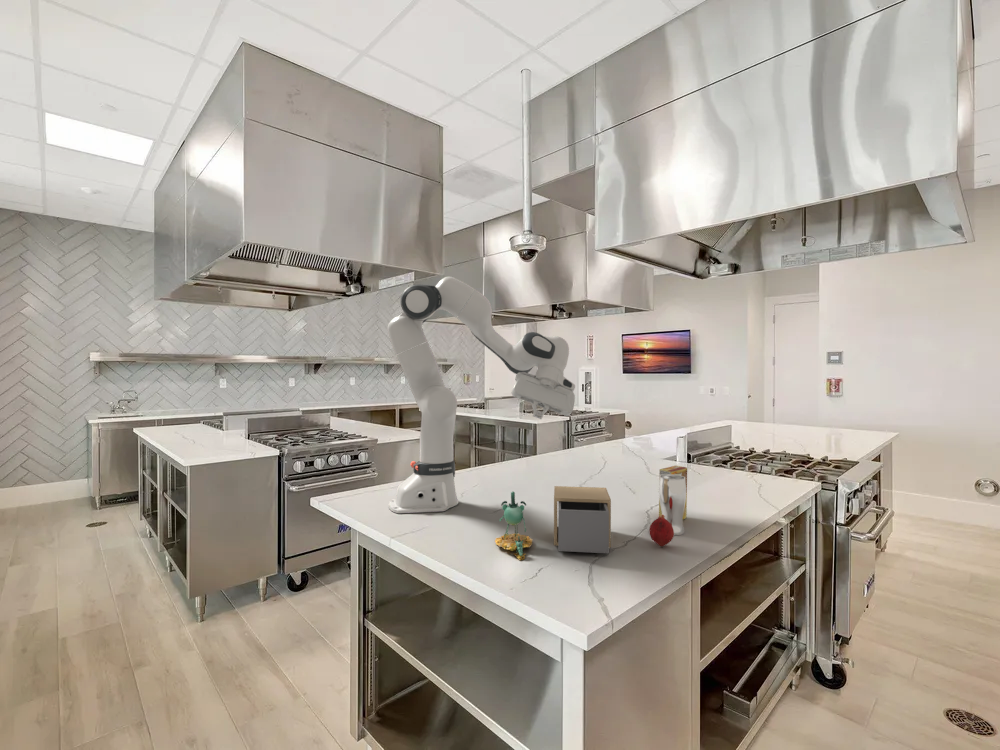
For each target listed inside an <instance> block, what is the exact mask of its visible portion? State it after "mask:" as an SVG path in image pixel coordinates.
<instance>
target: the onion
mask: <svg viewBox="0 0 1000 750" xmlns="http://www.w3.org/2000/svg"><path fill="white" fill-rule="evenodd" d="M664 517H665V516H664V515H663V514H661V515H660V516H659V515H658V517H657V518H656V519H654V520H653V521H652V522H651V524H650V525H649V531H648V532H649V537H650V539H651V540H652V541H653V542H654V543H655V544H656V545H657V546H659V547H665V546H666V545H668V544H670V542H672V540H673V538H674V537H675V535H674V530H673V527H672V525H671V524H670V522H669V521H667V520H666V519H665V518H664Z"/></svg>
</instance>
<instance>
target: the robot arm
mask: <svg viewBox="0 0 1000 750" xmlns="http://www.w3.org/2000/svg"><path fill="white" fill-rule="evenodd" d="M400 307H401V309H402V312H401V313H400V314H399V315H397V316H395V317H393V318H392V319H391V320H390V321H389V322H388V324H387V334H388V337H389V340H390V344H391V346H392V349H393V351H394V353H395V355H396V358H397V361H398V362H399V364H400V367H401V369H402V371H403V373H404V375H405V378H406V380H407V383H408V385H409V388H410V391H411V393H412V396H413V399H414V400H415V403H416V405H417V407H418V409H419V411H420V413H421V422H420V433H419V461H413V460H412V461H411V462H410V467H411V468H412V469H413V470H412V471H413V473H412V474H411V475H409V477H406V479H405V480H404V481H402V482H401V483H400V484H399V485H398V487H397V489H396V493H395V498H392V499H390V500H389V502H388V508H389V510H390V511H391V512H393V513H396V514H412V513H413V514H414V513H433V512H434V513H435V512H437V513H438V512H445V511H447V510H449V509H450V508H453V507H456V506H457V505H458V504H459V500H458V499H459V498H458V495H457V491H456V485H455V477H456V475H455V474H456V464H455V462H456V461H455V460H454V436H455V435H454V433H455V427H456V419H457V410H458V409H457V408H458V400H457V396H456V394H455V393H454V391H453V390H452V389H450V388H448V387H446V385H445V383H444V380H443V377H442V374H441V371H440V369H439V365H438V361H437V360H436V357H435V355H434V352H433V350H432V348H431V346H430V344H429V342H428V339H427V337H426V335H425V333H424V330H423V324H424V323H425V322H426V321H427V320H428V319H430V318H431V317H432V316H433V315H434V313H435V312H436V311H439V310H440V311H441V310H442V311H445V312H447V313H449V314H450V315H452V316H453V317H455V318H456V319H458V320H459V321H460V322H461V323H462V324H464V325H465V326H466V327H467V328H468V329H469V331H470V332H471V334H472V335H473V337H475V338H476V339H477V340H478V341H479V342H480V343H481V344H483V345H484V347H486V348H487V349H488V350H490V351H491V352H492V353H493V354H494V355H495V356H497V357H498V358H499V359H500V360H501V361H502V362H503V363H504V365H505V366H506V367H507V369H508V370H509V371H510V372H512V373H513V374H515V375H516V376H515V378H514V379H515V383H514V386H513V387H512V390H511V393H510V394H511V395H512V397H514V398H516V399H519V400H521V401H524V402H527V403H530V404H531V408H532V412H533V413H532V417H534V418H536V419H540V420H542V419H543V416H544V415H545V414H546V413H547V412H548V411H551V412H555V413H557V414H559V415H563V416H565V417H569V416H570V415H571V414H572V413H573V411H574V409H575V408H574V407H575V399H576V397H575V396H576V395H575V393H574V391H575V389H576V385H575V384H574V383H573V382H572V381H570V380H569V379H567V377H565V375H564V372H565V369H566V367H567V364H568V360H569V354H570V347H569V344H568V342H567V340H565V339H564V338H563V337H561V336H557V335H553V336H546V335H542V334H540V333H539V332H534V331H529V332H527V333H525V334H524V335H523V336H522V337H521V338H520V340H518V341H517V343H515V344H511V343H510V342H509V341H508V340H506V339H505V338H504V337H503V336H502V335H501V334H500V333H498V332H497V330H495V329H494V326H493V323H492V314H493V310H492V309H493V308H492V304H491V302H490V300H489V299H488V298H487V297H486V296H485V295H484V294H483V293H481V292H480V291H479V290H477V289H476V288H474V287H472V286H471V285H469V284H468V283H466V282H465V281H462V280H460V279H458V278H456V277H453V276H445V277H443V278H441V279H440V280H439V281H438V282H437V283H436V285H429V284H421V283H420V284H418V283H417V284H412V285H410V286H408V287H407V288H405V289H404V291H403V292H402V294H401V296H400ZM535 366H536V367H537V369H536V372H535V374H532V373H530V371H531V370H532V369H533V368H534V367H535ZM537 406H538V407H541V408H542V411H540V410H539V409H537Z"/></svg>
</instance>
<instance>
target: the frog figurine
mask: <svg viewBox="0 0 1000 750" xmlns="http://www.w3.org/2000/svg"><path fill="white" fill-rule="evenodd" d="M515 494H516V493H515V491H511V492H510V502H511V503H508V501H507V500H504V501H502V503H501V506H502V507H501V509H502V511H504V512H503V515H502V517H500V518H499V522H501V521H502V520H503V518H504V521H505V522H506V523H507V526H506V529H505V530H506V531H505V533H503V535H501V536H499V537H495V540H494V542H495V544H496V546H498V547H500V548H503V549H504V550H507V551H512V552H514V551H516V552H515V553H513V554H512V556H513V555H514V556H515V557H516V559H518V560H519V561H523V560H525V559H526V555H527V554H526V553H524V551H523V550H524V548H530V547H531V546H532V544H533V538H531V537H530V536H528V535H525V534H521V533H519V532H518V531H517V527H518V524H520V523H521V522H522V520H523V525H524V532H525V533H526V532H527V528H526V523H525V518H524V512H523V511H524V510H525V506H527V503H526V502H525V501H524V500H523V501H522V500H521V501H520V505H519V502H516V498H515V497H516V495H515ZM510 525H511V526H514V533H508V531H509V528H510Z"/></svg>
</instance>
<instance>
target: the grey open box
mask: <svg viewBox="0 0 1000 750" xmlns="http://www.w3.org/2000/svg"><path fill="white" fill-rule="evenodd" d="M557 526H558V548H557V551H558V552H573V553H575V552H576V553H593V554H594V553H595V554H596V553H597V554H609V553H610V548H609V510H608V508H607V505H606V503H594V502H565V501H557Z"/></svg>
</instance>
